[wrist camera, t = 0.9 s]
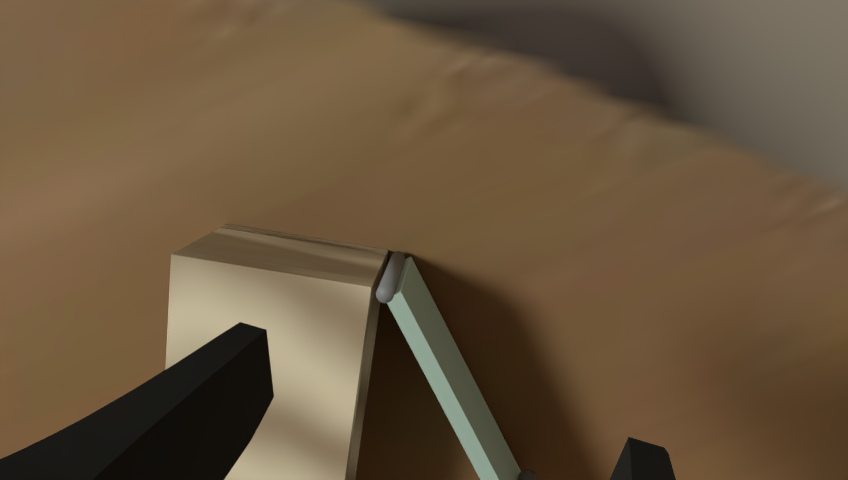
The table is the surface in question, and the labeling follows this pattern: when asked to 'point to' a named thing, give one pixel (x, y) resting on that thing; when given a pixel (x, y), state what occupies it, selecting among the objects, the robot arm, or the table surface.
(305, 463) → the cabinet
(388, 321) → the table surface
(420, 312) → the door
